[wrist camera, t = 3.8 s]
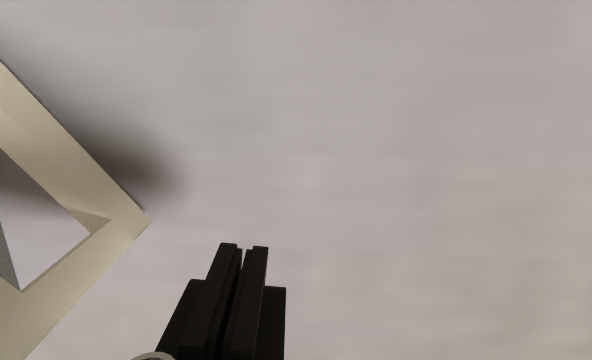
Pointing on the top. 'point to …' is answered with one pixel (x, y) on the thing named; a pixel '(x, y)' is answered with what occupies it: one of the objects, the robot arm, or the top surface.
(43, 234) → the top surface
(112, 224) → the gate
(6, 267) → the gate frame
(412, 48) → the top surface
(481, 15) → the top surface
